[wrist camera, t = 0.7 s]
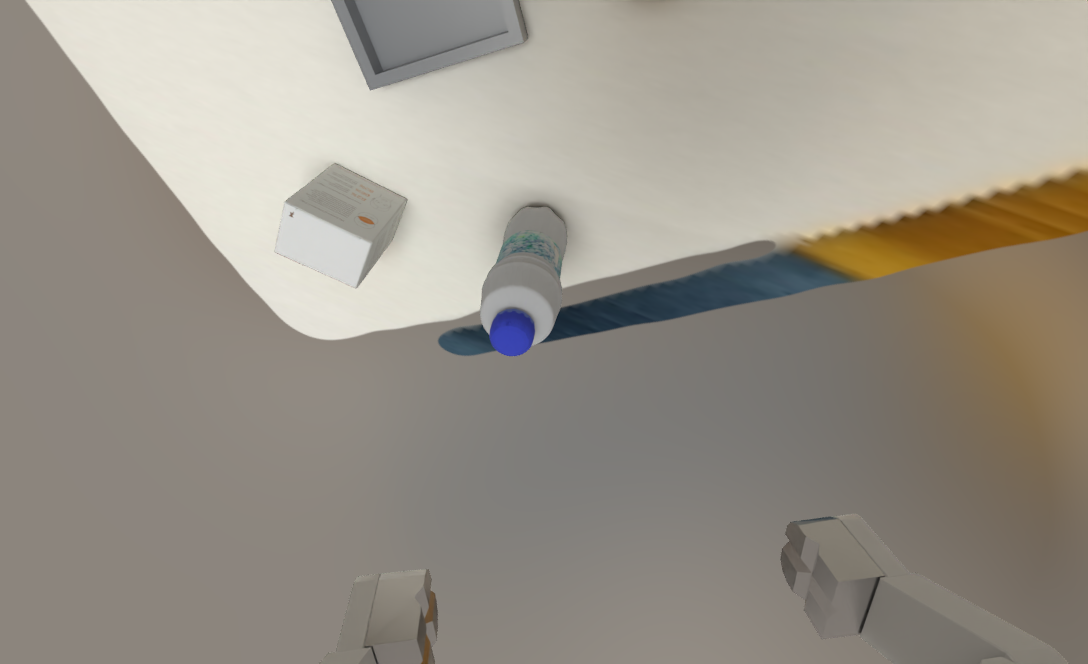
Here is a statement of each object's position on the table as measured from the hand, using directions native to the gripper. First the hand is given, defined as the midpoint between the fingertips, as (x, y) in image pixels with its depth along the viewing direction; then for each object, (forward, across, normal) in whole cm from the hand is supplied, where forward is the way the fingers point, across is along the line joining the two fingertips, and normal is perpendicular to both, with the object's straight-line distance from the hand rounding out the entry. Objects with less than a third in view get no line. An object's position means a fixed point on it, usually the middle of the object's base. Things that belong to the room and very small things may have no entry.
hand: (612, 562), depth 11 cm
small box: (+48, +16, +1) cm, 51 cm away
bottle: (+45, -2, +4) cm, 45 cm away
